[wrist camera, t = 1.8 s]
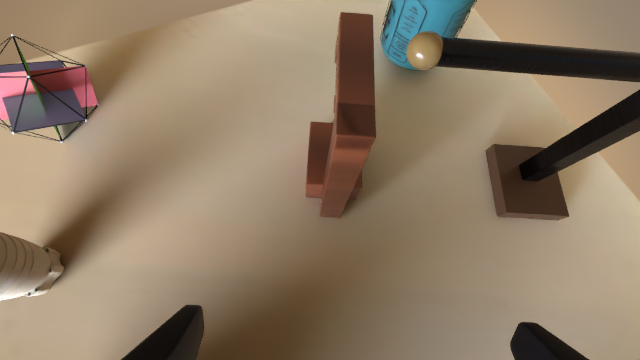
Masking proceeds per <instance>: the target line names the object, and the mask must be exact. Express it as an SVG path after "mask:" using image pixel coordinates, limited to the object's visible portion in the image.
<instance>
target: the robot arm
mask: <svg viewBox="0 0 640 360" xmlns="http://www.w3.org/2000/svg"><path fill="white" fill-rule="evenodd" d="M203 334H204V319H203V310H202V307H201V306H200V305H186V306H184V307H183V308H181V309H180V310H179V311H178V312H177V313H176V314H174V315H173V316H172V317H171V318H170V319H168V320H167V321H166V322H165V323H164V324H163V325H161V326H160V327H159V328H158V329H157V330H155V331H154V332H153V333H152V334H151V335H150V336H148V337H147V338H146V339H145V340H144V341H143V342H141V343H140V344H139V345H138V346H137V347H135V348H134V349H133V350H132V351H131V352H130V353H128V354H127V355H126V356H125V357H124V358H122V359H121V360H196V358H197V355H198V352H199V348H200V345H201V341H202V338H203ZM510 347H511V351H512V354H513V356H514V359H515V360H589V359H587V358H586V357H585V356H583V355H582V354H580V353H579V352H577V351H576V350H574V349H573V348H572V347H570V346H569V345H567V344H566V343H564V342H563V341H562V340H560V339H559V338H557V337H556V336H554V335H553V334H552V333H550V332H549V331H547V330H546V329H544V328H543V327H542V326H540V325H538V324H537V323H532V322H521V323H519V324H518V326H517V328H516V331H515V333H514V335H513V337H512V339H511V343H510Z"/></svg>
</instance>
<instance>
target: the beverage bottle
mask: <svg viewBox="0 0 640 360" xmlns="http://www.w3.org/2000/svg"><path fill="white" fill-rule="evenodd" d="M389 1H390V0H389ZM476 1H477V0H476ZM474 2H475V0H391V3H390V6H389V9H388V7H387V9H388V12H387V11H386V12H387V15H386V14H385V16H387V17H386V21H385V20H384V22H385V25H384V28H383V32H382V33H380V34H381V35H382V36H381V35H380V39H381V43H382V49H383V51H384V53H385V55H386V56H387V57H388V58H389V59H390V60H391V61H392V62H393V63H395V64H396V65H398V66H400V67H403V68H406V69H410V70H418V69H416V68H414V67H412V66H411V65H410V63H409V62H408V60H407V56H406V51H407V46H408V44H409V42H410V40H411V39H412V38H413V37H414V36H415V35H416V34H418V33H420V32H423V31H433V32H436V33H437V34H439V35H440V36H441V37H448V38H454V37H455V36H458V35H456V34H457V32H458V30H459V31H461V30H460V29H462V27H463V26H461V25H463V24H465V23H464V22H466V21H464V20H465V18H466V16H467V14H468V13H469V14H470V9H471V7H472V5H473V4H474ZM388 5H389V3H388ZM472 8H473V7H472ZM469 14H468V15H469ZM468 17H469V16H468ZM384 19H385V18H384ZM466 20H467V19H466ZM463 21H464V22H463ZM462 23H463V24H462ZM383 24H384V23H383ZM381 30H382V29H381ZM458 34H459V33H458ZM455 38H457V37H455Z"/></svg>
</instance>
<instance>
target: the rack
mask: <svg viewBox="0 0 640 360" xmlns="http://www.w3.org/2000/svg"><path fill="white" fill-rule="evenodd" d="M406 56H407V60H408V62H409V63H410V65H411V66H412V67H414V68H416V69H418V70H428V69H431V68H433V67H434V66H437V67H450V68H462V69H475V70H488V71H501V72H514V73H527V74H541V75H553V76H567V77H579V78H592V79H605V80H618V81H631V82H640V53H635V52H622V51H610V50H598V49H585V48H572V47H560V46H547V45H535V44H523V43H510V42H498V41H486V40H473V39H461V38H448V37H441V36H440V35H439V34H437V33H436V32H433V31H423V32H420V33H418V34H416V35H415V36H414V37H413V38H412V39H411V40H410V42H409V44H408V46H407V51H406ZM638 131H640V90H638V91H637V92H635V93H633V94H632V95H631V96H629V97H627V98H626V99H624V100H622V101H621V102H619V103H617V104H616V105H614V106H613V107H611V108H609V109H608V110H606V111H605V112H603V113H601V114H600V115H598V116H597V117H595V118H593V119H592V120H590V121H588V122H587V123H585V124H584V125H582V126H580V127H579V128H577V129H576V130H574V131H572V132H571V133H569V134H568V135H566V136H564V137H563V138H561V139H560V140H558V141H556V142H555V143H553V144H552V145H550V146H548V147H547V148H541V147H527V146H513V145H498V144H493V145H492V146H491V147H490V148H488V149H487V150H486V155H487V161H488V166H489V172H490V178H491V183H492V189H493V194H494V200H495V206H496V211H497V216H498V217H514V218H529V219H545V220H560V219H563V218H566V217H569V213H568V210H567V206H566V202H565V199H564V195H563V191H562V187H561V184H560V180H559V176H558V173H557V172H558V171H560V170H562V169H564V168H566V167H568V166H570V165H572V164H574V163H576V162H578V161H580V160H582V159H584V158H586V157H588V156H590V155H592V154H594V153H596V152H598V151H600V150H602V149H604V148H606V147H608V146H610V145H612V144H614V143H616V142H618V141H620V140H622V139H624V138H626V137H628V136H630V135H632V134H634V133H636V132H638Z"/></svg>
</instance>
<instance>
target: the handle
mask: <svg viewBox="0 0 640 360" xmlns="http://www.w3.org/2000/svg"><path fill="white" fill-rule="evenodd" d="M59 259H60V254H59V253H58V252H57V251H55V250H53V249H51V248H48V247H44V248H41V247H40V246H38V245H36V244H34V243H32V242H29V241H26V240H24V239H21V238H18V237H14V236H11V235H8V234H4V233H1V232H0V300H5V299H10V298H16V297H19V296H22V295H26V296H27V297H28V296H36V295H41V294H44V293H46V292H47V291H48V290H50V288H51V285H52V284H53V282H54V281H55V280H56V278H57V277H58V276H60V275H61V274H62V273H63V270H64V266H62V265H61V263H60V260H59Z"/></svg>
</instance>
